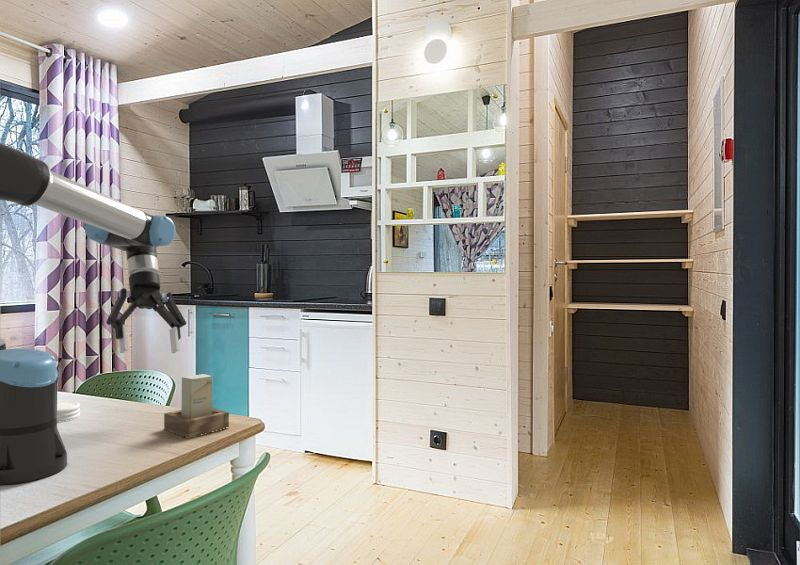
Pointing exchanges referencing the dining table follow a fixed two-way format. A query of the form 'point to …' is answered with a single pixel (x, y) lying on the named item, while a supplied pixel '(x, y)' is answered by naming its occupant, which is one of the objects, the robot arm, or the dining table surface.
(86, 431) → the dining table surface
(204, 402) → the skincare box
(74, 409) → the white round piece
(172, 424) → the holder
